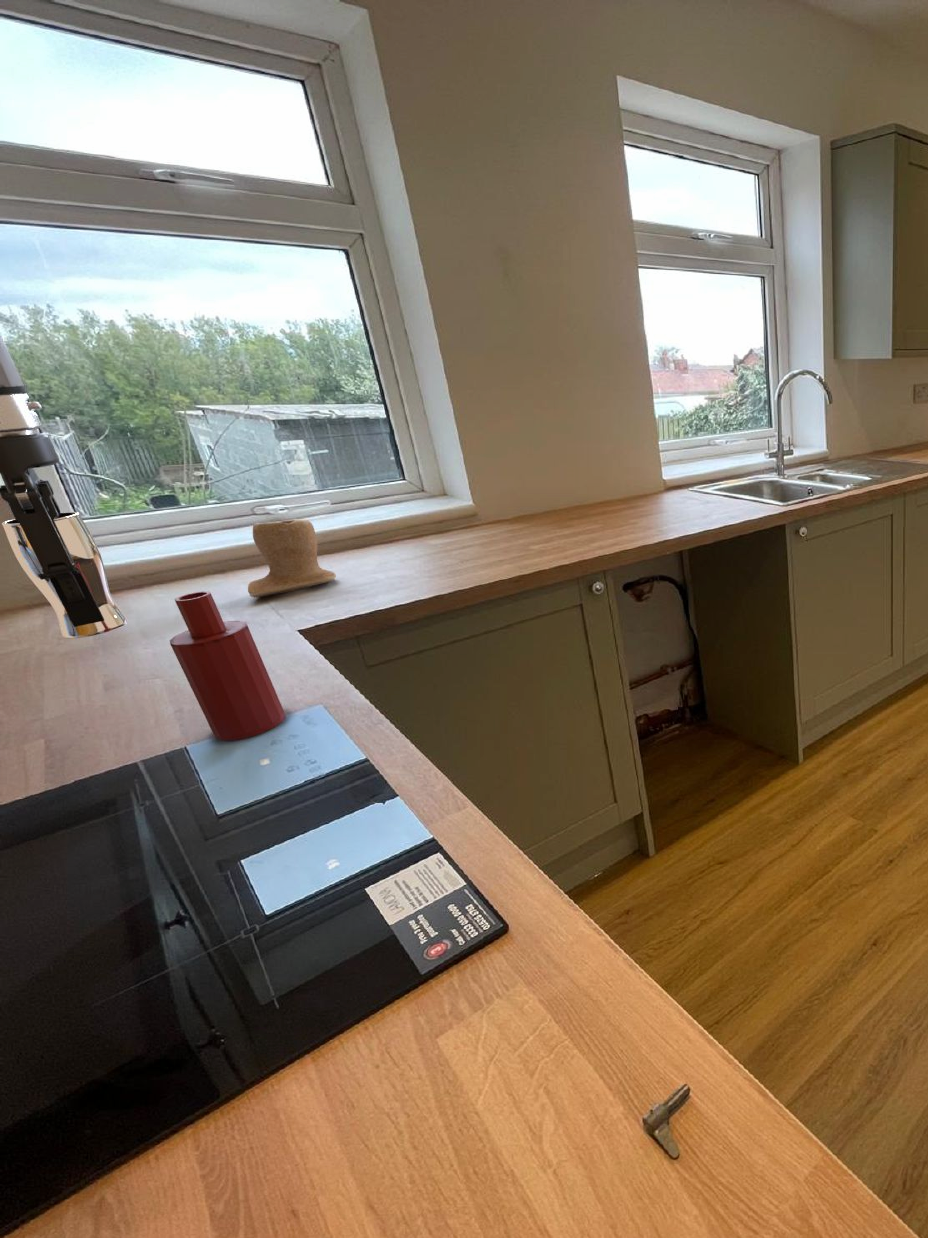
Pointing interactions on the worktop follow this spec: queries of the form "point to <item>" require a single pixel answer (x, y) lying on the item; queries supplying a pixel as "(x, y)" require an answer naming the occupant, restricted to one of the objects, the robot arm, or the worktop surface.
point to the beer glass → (87, 563)
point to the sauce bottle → (225, 671)
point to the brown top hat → (287, 557)
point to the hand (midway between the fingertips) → (89, 616)
